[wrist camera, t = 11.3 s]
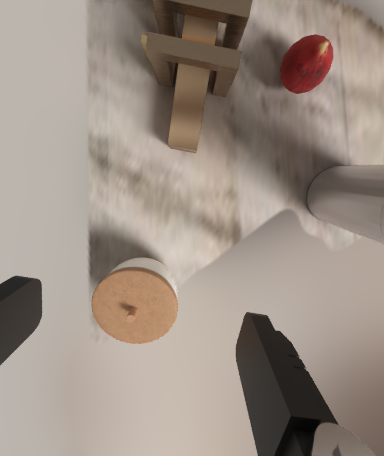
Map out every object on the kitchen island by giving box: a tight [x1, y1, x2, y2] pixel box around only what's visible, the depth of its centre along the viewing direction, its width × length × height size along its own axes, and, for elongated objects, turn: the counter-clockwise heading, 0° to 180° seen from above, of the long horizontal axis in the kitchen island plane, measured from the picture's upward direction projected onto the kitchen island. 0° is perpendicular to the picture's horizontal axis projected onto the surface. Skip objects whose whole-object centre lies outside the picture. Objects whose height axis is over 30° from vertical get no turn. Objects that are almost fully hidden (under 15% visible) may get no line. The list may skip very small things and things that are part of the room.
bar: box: [168, 15, 218, 153], centre depth 28 cm, size 18×4×5 cm, turn 170°
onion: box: [280, 35, 333, 94], centre depth 26 cm, size 6×6×8 cm
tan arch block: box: [141, 0, 252, 97], centre depth 26 cm, size 12×6×9 cm, turn 80°
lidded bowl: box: [92, 257, 178, 344], centre depth 34 cm, size 13×13×11 cm
